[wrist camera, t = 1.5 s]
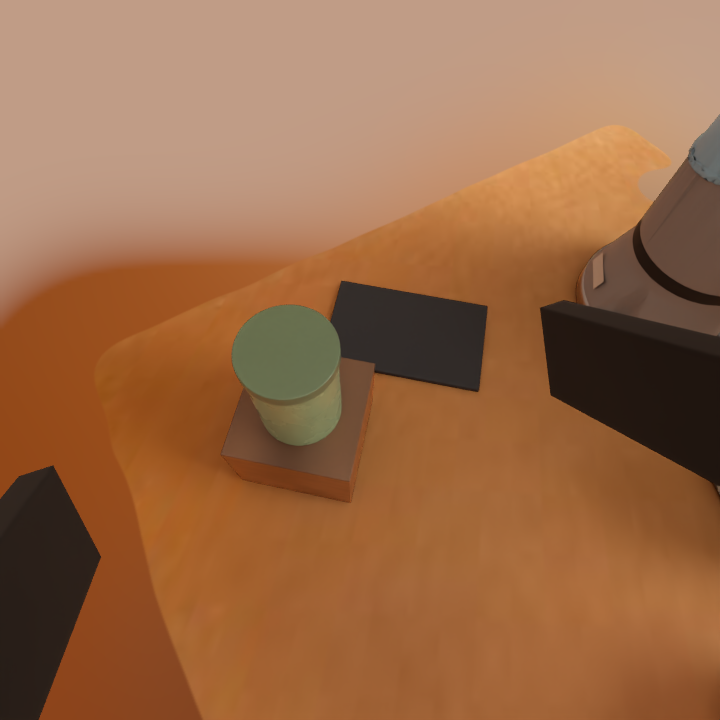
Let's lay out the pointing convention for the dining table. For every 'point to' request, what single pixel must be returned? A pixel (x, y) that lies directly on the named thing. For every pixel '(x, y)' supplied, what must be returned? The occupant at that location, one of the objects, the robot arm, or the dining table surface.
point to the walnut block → (308, 462)
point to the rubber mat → (411, 334)
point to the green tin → (291, 372)
